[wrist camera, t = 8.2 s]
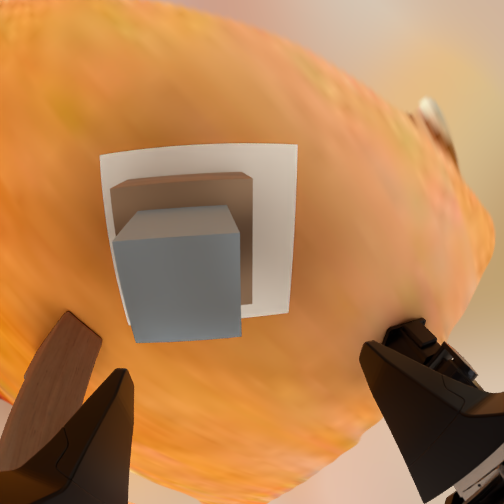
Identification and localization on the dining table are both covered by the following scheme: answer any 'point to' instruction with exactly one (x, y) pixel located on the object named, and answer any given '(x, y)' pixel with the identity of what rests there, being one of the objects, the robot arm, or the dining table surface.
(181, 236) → the gray cube
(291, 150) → the felt mat
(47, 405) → the wooden block
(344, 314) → the dining table surface
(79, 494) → the robot arm
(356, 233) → the dining table surface
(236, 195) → the walnut base
